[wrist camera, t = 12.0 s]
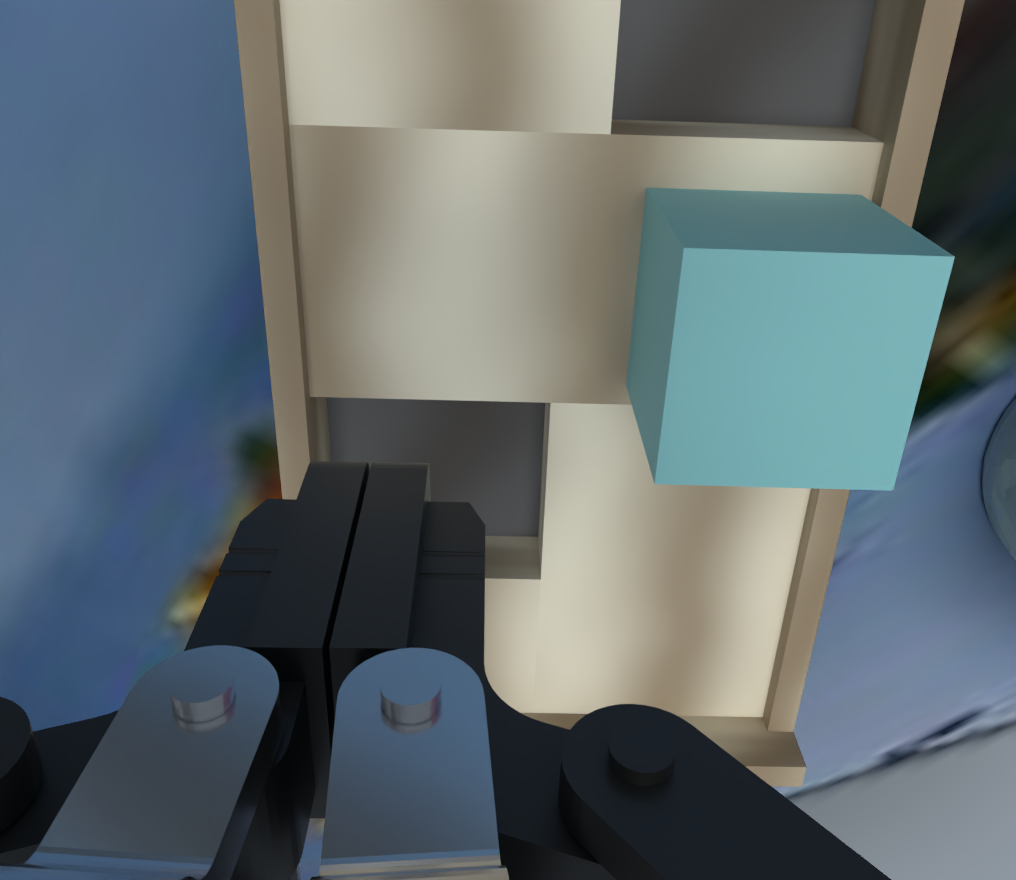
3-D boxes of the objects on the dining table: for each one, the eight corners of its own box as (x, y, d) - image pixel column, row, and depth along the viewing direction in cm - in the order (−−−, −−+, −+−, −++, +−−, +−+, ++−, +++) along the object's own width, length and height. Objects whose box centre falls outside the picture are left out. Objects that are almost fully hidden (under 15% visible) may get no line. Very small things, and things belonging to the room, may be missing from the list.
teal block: (626, 385, 24) (654, 484, 19) (646, 187, 21) (684, 247, 17) (820, 390, 24) (892, 490, 19) (861, 195, 21) (954, 256, 17)
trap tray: (323, 675, 31) (297, 777, 27) (248, -230, 20) (185, -277, 16) (764, 683, 31) (801, 786, 28) (949, -204, 20) (1058, -243, 16)
